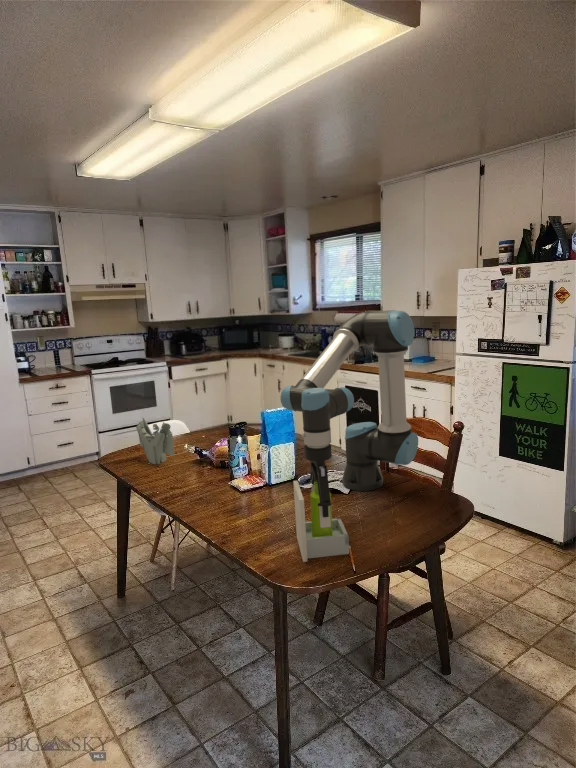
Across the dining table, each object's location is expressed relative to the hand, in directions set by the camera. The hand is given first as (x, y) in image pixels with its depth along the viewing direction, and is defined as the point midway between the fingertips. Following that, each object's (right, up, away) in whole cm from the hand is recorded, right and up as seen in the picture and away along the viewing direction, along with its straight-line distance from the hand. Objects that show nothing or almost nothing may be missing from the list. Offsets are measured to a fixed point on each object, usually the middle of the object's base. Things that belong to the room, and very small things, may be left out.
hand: (321, 515), depth 139 cm
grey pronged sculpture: (-70, +2, +86) cm, 111 cm away
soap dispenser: (0, -6, +2) cm, 7 cm away
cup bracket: (+1, -9, +2) cm, 9 cm away
